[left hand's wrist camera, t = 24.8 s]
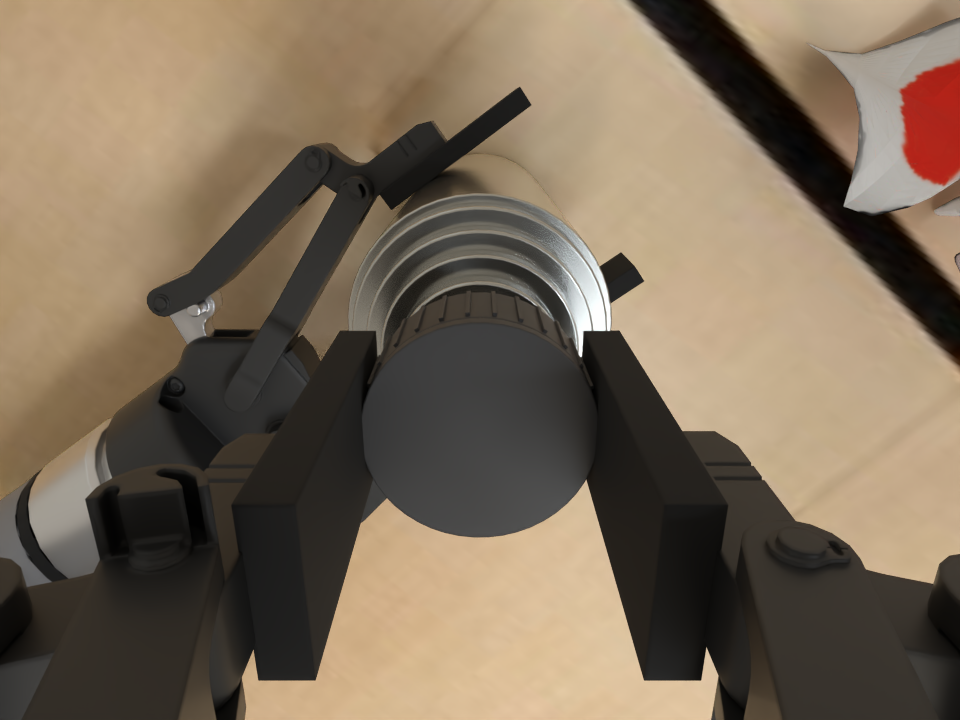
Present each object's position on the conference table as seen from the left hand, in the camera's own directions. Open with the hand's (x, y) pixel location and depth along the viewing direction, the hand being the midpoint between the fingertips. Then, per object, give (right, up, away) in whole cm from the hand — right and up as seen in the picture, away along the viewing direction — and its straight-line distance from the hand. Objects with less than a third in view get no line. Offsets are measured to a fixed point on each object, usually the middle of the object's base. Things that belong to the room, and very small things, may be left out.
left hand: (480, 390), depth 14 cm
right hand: (+4, +8, +12) cm, 15 cm away
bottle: (0, +7, +19) cm, 21 cm away
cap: (0, -1, -2) cm, 2 cm away
